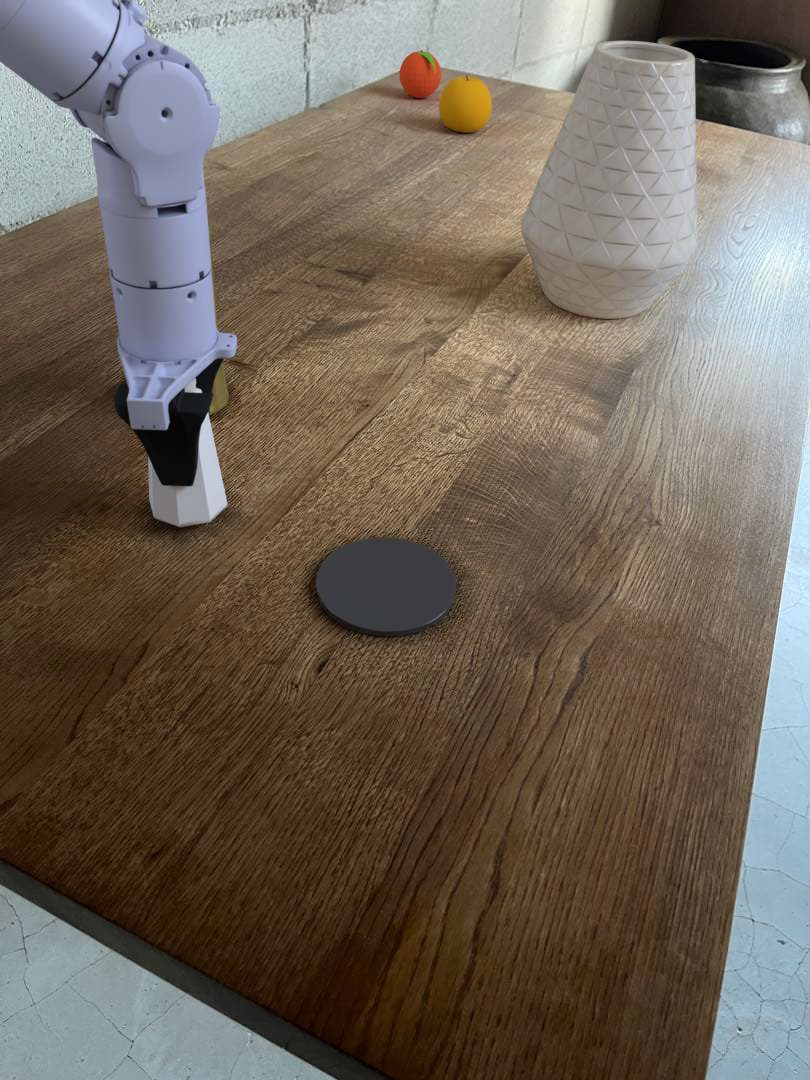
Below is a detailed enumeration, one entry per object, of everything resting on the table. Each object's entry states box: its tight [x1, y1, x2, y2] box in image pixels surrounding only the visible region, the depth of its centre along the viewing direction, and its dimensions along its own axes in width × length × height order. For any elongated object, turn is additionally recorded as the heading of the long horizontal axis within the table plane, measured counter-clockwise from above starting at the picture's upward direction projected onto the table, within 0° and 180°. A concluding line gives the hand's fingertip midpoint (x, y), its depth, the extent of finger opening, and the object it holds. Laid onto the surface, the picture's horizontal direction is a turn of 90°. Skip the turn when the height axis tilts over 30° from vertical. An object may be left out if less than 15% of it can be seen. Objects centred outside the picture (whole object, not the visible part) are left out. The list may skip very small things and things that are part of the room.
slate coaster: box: [315, 536, 457, 638], centre depth 59 cm, size 9×9×1 cm
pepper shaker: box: [147, 377, 229, 528], centre depth 60 cm, size 5×5×11 cm
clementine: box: [398, 49, 442, 99], centre depth 151 cm, size 8×7×7 cm
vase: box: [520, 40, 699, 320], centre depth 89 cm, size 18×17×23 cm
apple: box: [438, 75, 493, 134], centre depth 138 cm, size 8×8×8 cm
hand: (183, 463), depth 61 cm, fingers closed on pepper shaker, 4 cm apart
